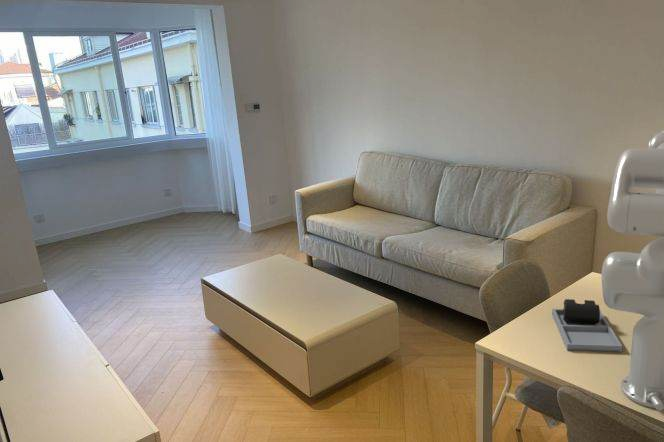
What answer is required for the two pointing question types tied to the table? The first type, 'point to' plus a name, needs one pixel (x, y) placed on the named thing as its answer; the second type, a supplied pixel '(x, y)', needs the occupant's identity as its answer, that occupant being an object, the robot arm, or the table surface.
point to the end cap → (581, 312)
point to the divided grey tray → (587, 334)
